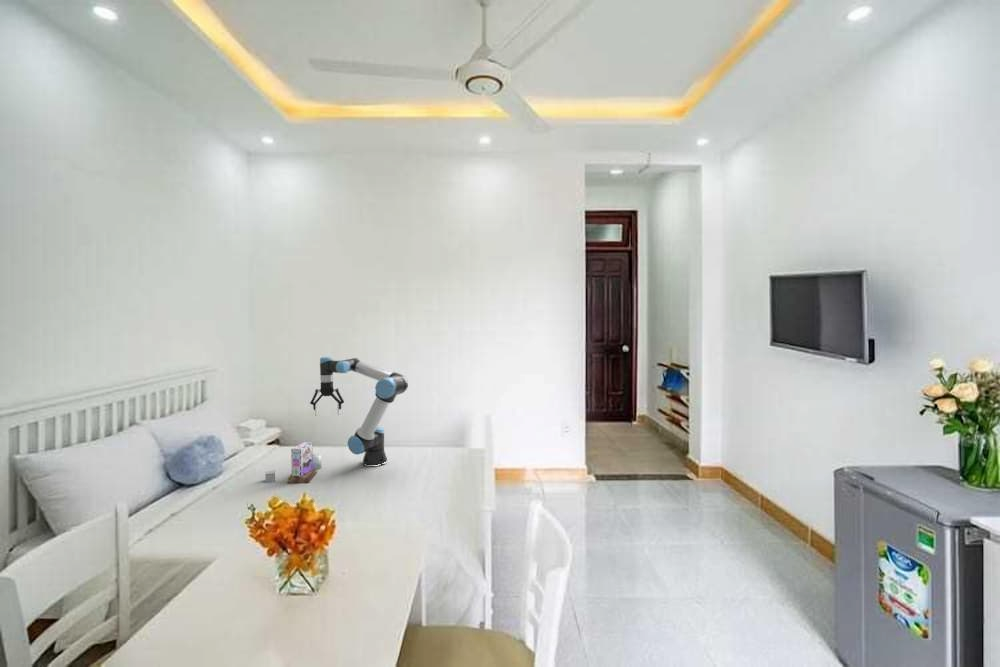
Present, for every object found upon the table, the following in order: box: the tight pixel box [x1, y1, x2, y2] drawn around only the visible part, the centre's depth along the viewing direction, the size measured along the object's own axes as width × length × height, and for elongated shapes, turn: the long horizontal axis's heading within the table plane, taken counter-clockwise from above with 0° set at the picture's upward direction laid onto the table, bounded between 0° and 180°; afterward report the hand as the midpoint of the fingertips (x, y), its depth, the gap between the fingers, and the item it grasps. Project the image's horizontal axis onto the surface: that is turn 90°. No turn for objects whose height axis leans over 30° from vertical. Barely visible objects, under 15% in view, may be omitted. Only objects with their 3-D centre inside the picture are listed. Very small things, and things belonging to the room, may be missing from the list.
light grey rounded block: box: [313, 453, 322, 471], centre depth 314 cm, size 7×7×8 cm
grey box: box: [264, 470, 276, 484], centre depth 293 cm, size 5×5×5 cm
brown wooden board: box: [286, 468, 318, 484], centre depth 297 cm, size 12×17×3 cm
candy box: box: [290, 441, 314, 477], centre depth 297 cm, size 14×6×16 cm, turn 171°
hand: (327, 414), depth 321 cm, fingers open, 13 cm apart
